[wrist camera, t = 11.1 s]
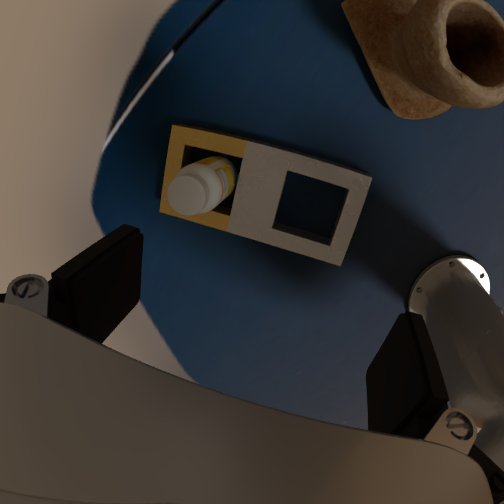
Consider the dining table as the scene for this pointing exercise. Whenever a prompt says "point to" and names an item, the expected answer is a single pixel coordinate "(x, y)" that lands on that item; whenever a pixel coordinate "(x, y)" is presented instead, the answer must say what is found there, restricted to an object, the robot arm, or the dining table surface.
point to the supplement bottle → (202, 185)
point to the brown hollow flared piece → (431, 53)
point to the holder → (268, 191)
